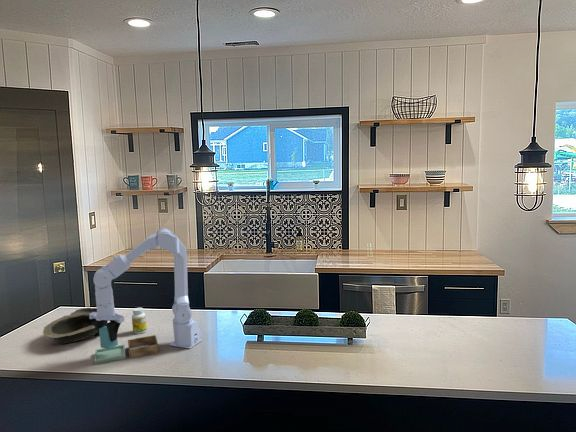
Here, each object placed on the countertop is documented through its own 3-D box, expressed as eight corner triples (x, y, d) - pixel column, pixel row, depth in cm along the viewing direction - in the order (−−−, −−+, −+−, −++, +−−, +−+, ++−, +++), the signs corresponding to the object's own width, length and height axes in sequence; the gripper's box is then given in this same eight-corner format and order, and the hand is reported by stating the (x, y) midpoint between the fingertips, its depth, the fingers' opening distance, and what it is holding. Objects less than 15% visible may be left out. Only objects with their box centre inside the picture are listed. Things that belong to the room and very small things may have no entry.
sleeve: (156, 342, 171) (155, 335, 170) (158, 352, 162) (158, 344, 161) (128, 347, 167) (127, 339, 167) (129, 358, 158) (128, 350, 158)
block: (117, 344, 161) (116, 325, 160) (109, 349, 157) (107, 330, 156) (109, 343, 162) (107, 324, 162) (100, 347, 159) (98, 328, 158)
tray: (124, 348, 167) (124, 344, 167) (125, 358, 158) (125, 354, 157) (95, 353, 163) (95, 349, 163) (95, 364, 154) (94, 360, 154)
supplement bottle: (149, 330, 184) (147, 307, 182) (139, 335, 179) (137, 312, 178) (140, 328, 186) (138, 306, 185) (130, 333, 182) (128, 310, 180)
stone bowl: (122, 325, 190) (120, 304, 189) (92, 355, 166) (88, 332, 164) (68, 324, 193) (65, 304, 191) (30, 354, 169) (26, 331, 167)
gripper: (80, 304, 157) (84, 341, 159) (112, 308, 151) (115, 346, 153) (96, 298, 163) (100, 334, 165) (127, 302, 158) (130, 338, 159)
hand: (108, 339), depth 160 cm, fingers closed on block, 4 cm apart
